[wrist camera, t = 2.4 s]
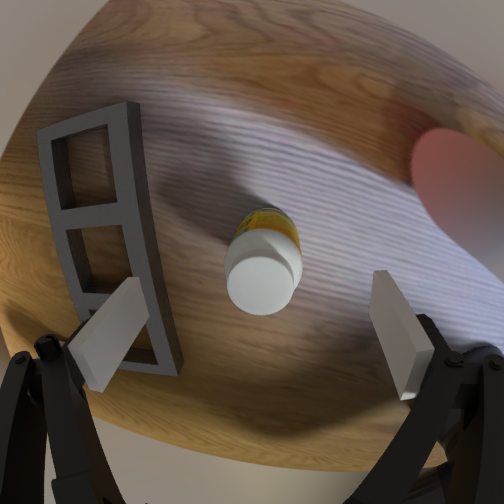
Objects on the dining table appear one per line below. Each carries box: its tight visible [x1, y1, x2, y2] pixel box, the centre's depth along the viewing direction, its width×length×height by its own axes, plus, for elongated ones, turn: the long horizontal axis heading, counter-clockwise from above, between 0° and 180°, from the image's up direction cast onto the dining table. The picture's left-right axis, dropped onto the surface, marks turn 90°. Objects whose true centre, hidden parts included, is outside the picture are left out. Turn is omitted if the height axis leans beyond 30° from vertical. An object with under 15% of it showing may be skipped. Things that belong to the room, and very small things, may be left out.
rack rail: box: [36, 102, 184, 376], centre depth 28 cm, size 11×28×2 cm, turn 4°
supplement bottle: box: [224, 208, 303, 315], centre depth 22 cm, size 5×5×10 cm
